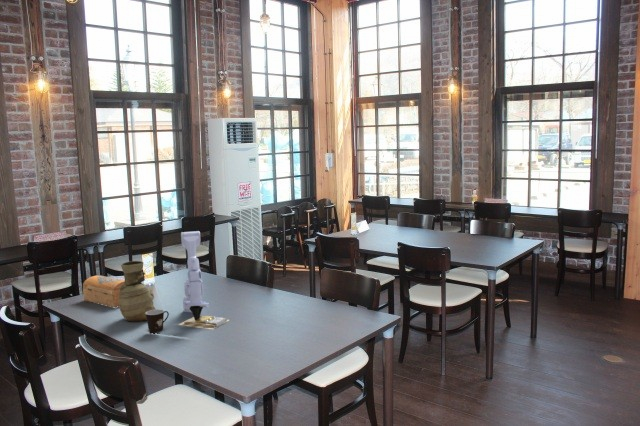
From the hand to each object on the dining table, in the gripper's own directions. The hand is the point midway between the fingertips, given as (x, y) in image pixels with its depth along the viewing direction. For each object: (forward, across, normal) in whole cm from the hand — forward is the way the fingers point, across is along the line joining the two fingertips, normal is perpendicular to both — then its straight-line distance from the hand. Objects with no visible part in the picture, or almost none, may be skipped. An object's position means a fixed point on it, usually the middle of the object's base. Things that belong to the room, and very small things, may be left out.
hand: (197, 320), depth 292 cm
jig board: (+2, +4, 0) cm, 4 cm away
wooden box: (+2, -74, +18) cm, 76 cm away
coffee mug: (+2, -11, -16) cm, 20 cm away
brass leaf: (+1, +5, 0) cm, 5 cm away
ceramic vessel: (+2, -35, -3) cm, 35 cm away
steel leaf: (+1, +11, 0) cm, 11 cm away
